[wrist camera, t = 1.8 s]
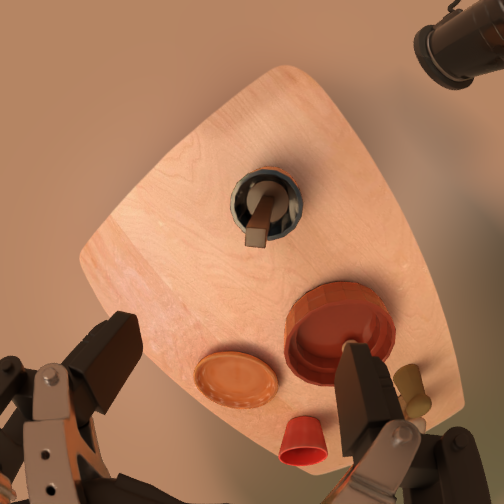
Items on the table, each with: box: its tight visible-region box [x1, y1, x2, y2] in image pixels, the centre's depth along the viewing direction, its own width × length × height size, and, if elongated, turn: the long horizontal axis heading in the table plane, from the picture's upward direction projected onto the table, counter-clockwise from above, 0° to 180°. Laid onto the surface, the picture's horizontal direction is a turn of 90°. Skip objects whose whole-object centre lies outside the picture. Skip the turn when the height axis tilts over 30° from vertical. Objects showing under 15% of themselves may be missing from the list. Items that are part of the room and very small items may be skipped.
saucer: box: [193, 351, 278, 409], centre depth 47 cm, size 16×16×3 cm
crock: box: [230, 166, 303, 241], centre depth 33 cm, size 8×8×8 cm
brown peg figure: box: [393, 364, 432, 418], centre depth 40 cm, size 6×6×11 cm
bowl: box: [284, 281, 396, 387], centre depth 40 cm, size 17×17×6 cm
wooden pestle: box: [245, 177, 289, 248], centre depth 27 cm, size 5×5×19 cm
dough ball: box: [342, 340, 357, 352], centre depth 41 cm, size 3×3×3 cm
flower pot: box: [278, 416, 328, 466], centre depth 48 cm, size 11×11×10 cm
